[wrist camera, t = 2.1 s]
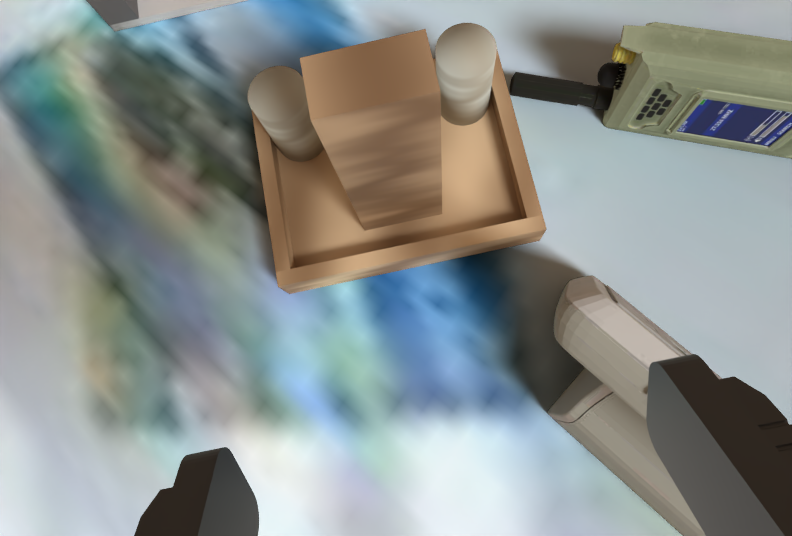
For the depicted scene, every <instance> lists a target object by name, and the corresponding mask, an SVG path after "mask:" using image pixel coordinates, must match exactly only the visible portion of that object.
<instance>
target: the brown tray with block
mask: <svg viewBox="0 0 792 536" xmlns="http://www.w3.org/2000/svg"><path fill="white" fill-rule="evenodd" d="M435 54H436V58H434V59H433V58H432V54H431V50H430V46H429V42H428V38H427V33H426V29H423V30H419V31H415V32H410V33H406V34H402V35H397V36H393V37H389V38H384V39H380V40H376V41H371V42H367V43H363V44H358V45H354V46H350V47H345V48H341V49H337V50H332V51H328V52H323V53H319V54H315V55H310V56H306V57H302V58H300V63H301V68H302V74H303V77H302V76H301V75H300V74H299V73H298V72H297V71H296V70H294V69H292V68H290V67H286V66H274V67H270V68H267V69H265V70H263V71H262V72H260V73H259V74H258V75H257V76H256V77H255V78H254V79H253V80H252V82H251V84H250V86H249V89H248V102H249V105H250V107H251V109H252V116H253V123H254V129H255V136H256V143H257V149H258V156H259V163H260V169H261V176H262V183H263V189H264V196H265V203H266V210H267V216H268V223H269V230H270V236H271V243H272V250H273V256H274V263H275V270H276V276H277V283H278V287H279V288H281V289H283V290H284V291H286V292H287V293H289V294H291V293H296V292H301V291H305V290H310V289H315V288H319V287H324V286H329V285H333V284H338V283H343V282H348V281H352V280H357V279H362V278H366V277H371V276H376V275H380V274H385V273H390V272H395V271H399V270H404V269H409V268H413V267H418V266H423V265H427V264H432V263H437V262H442V261H446V260H451V259H456V258H460V257H465V256H470V255H474V254H479V253H484V252H489V251H493V250H498V249H503V248H507V247H512V246H517V245H521V244H526V243H531V242H536V241H540V239H541V237H542V236H543V234H544V232H545V231H546V226H545V222H544V219H543V215H542V211H541V208H540V204H539V200H538V197H537V193H536V189H535V186H534V182H533V179H532V175H531V171H530V168H529V164H528V160H527V157H526V153H525V149H524V146H523V142H522V139H521V135H520V131H519V128H518V124H517V120H516V117H515V113H514V109H513V106H512V102H511V99H510V95H509V91H508V88H507V84H506V80H505V77H504V73H503V69H502V66H501V62H500V59H499V55H498V51H497V46H496V42H495V39H494V37H493V36H492V34H491V33H490V32H489V31H488V30H487V29H486V28H484V27H482V26H480V25H477V24H473V23H461V24H457V25H454V26H452V27H450V28H448V29H447V30H445V31H444V32H443V33H442V35H441V36H440V37H439V39H438V41H437V44H436V49H435Z"/></svg>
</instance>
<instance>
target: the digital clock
mask: <svg viewBox="0 0 792 536" xmlns="http://www.w3.org/2000/svg"><path fill="white" fill-rule="evenodd" d="M554 335H555V338H556V340H557V342H558V343H559V344H560V345H561V346H562V347H563V348H564V349H565V350H566V351H567V352H568V353H569V354H570V355H571V356H573V357H574V358H575V359H576V360H577V361H578V362H579V363H581V364H582V365H583V366H584V367H585V368H584V369H583V370H582V372H581V373H580V374H579V375H578V376H577V377H576V379H575V380H574V381H573V382H572V383H571V384H570V386H569V387H568V388H567V389H566V390H565V391H564V392H563V394H562V395H561V396H560V397H559V398H558V399H557V401H556V402H555V403H554V404H553V405H552V406H551V408H550V409H549V411H548V415H550V416H551V417H552V418H553V419H554V420H555V421H556V422H557V423H559V424H560V425H561V426H562V427H563V428H564V429H565V430H566V431H567V432H569V433H570V434H571V435H572V436H573V437H574V438H575V439H576V440H577V441H579V442H580V443H581V444H582V445H583V446H584V447H585V448H586V449H587V450H589V451H590V452H591V453H592V454H593V455H594V456H595V457H596V458H597V459H599V460H600V461H601V462H602V463H603V464H604V465H605V466H606V467H607V468H609V469H610V470H611V471H612V472H613V473H614V474H615V475H616V476H617V477H619V478H620V479H621V480H622V481H623V482H624V483H625V484H626V485H628V486H629V487H630V488H631V489H632V490H633V491H634V492H635V493H636V494H638V495H639V496H640V497H641V498H642V499H643V500H644V501H645V502H646V503H648V504H649V505H650V506H651V507H652V508H653V509H654V510H655V511H656V512H658V513H659V514H660V515H661V516H662V517H663V518H664V519H665V520H666V521H668V522H669V523H670V524H671V525H672V526H673V527H674V528H675V529H676V530H678V531H679V532H680V533H681V534H682V535H683V536H706V535H705V533H704V532H703V530H702V528H701V526H700V525H699V523H698V521H697V520H696V518H695V516H694V515H693V513H692V511H691V510H690V508H689V506H688V505H687V503H686V501H685V500H684V498H683V496H682V495H681V493H680V491H679V490H678V488H677V486H676V485H675V483H674V481H673V479H672V478H671V476H670V474H669V473H668V471H667V469H666V468H665V466H664V464H663V463H662V461H661V459H660V458H659V456H658V454H657V452H656V451H655V449H654V446H653V444H652V442H651V439H650V436H649V432H648V428H647V421H646V415H647V396H648V377H649V367H650V364H651V363H652V362H656V361H661V360H666V359H671V358H675V357H680V356H685V355H690V354H691V353H690V352H689V351H688V350H687V349H685V348H684V347H683V346H682V345H680V344H679V343H678V342H677V341H675V340H674V339H673V338H672V337H671V336H669V335H668V334H667V333H666V332H664V331H663V330H662V329H661V328H659V327H658V326H657V325H656V324H654V323H653V322H652V321H651V320H650V319H648V318H647V317H646V316H645V315H643V314H642V313H641V312H640V311H638V310H637V309H636V308H635V307H634V306H632V305H631V304H630V303H629V302H627V301H626V300H625V299H624V298H622V297H621V296H620V295H619V294H618V293H616V292H615V291H614V290H613V289H611V288H610V287H609V286H608V285H607V286H606V285H605V284H603V283H602V282H601V281H600V280H598V279H597V278H596V277H594V276H586V277H581V278H576V279H572V280H570V281H569V282H568V283H567V284H566V286H565V287H564V289H563V292H562V294H561V297H560V299H559V302H558V305H557V308H556V312H555V319H554ZM713 373H714V374H715V375H716V376H717V377H718V379H719V380H720V379H722V378H721V377H720V376H719V375H717V374H716V373H715V372H714V371H713Z"/></svg>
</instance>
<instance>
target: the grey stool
mask: <svg viewBox="0 0 792 536" xmlns="http://www.w3.org/2000/svg"><path fill="white" fill-rule="evenodd" d="M87 1H88V3H89V4H90V5H91V6H92V7H93V8H94V9H95V10H96V11H97V12H98V14H99V15H100V16H101V17H102V18H103V19H104V20H105V21H106V22H107V23H108V25H109V26H110V27H111V28H112V29H113V30H114V31H119V30H123V29H127V28H132V27H136V26H140V25H144V24H149V23H153V22H157V21H161V20H166V19H170V18H174V17H179V16H183V15H187V14H191V13H196V12H200V11H204V10H208V9H213V8H217V7H221V6H225V5H230V4H234V3H238V2H242V1H247V0H87Z"/></svg>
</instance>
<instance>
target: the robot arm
mask: <svg viewBox="0 0 792 536" xmlns="http://www.w3.org/2000/svg"><path fill="white" fill-rule="evenodd" d="M646 421H647V428H648V432H649V436H650V439H651V442H652V444H653V446H654V449H655V451H656V452H657V454H658V456H659V458H660V459H661V461H662V463H663V464H664V466H665V468H666V469H667V471H668V473H669V474H670V476H671V478H672V479H673V481H674V483H675V485H676V486H677V488H678V490H679V491H680V493H681V495H682V496H683V498H684V500H685V501H686V503H687V505H688V506H689V508H690V510H691V511H692V513H693V515H694V516H695V518H696V520H697V521H698V523H699V525H700V526H701V528H702V530H703V532H704V533H705V535H706V536H792V425H789V424H788V422H787V419H786V418H785V417H784V416H783V414H782V413H781V412H780V411H779V410H778V409H777V408H776V407H775V406H774V404H773V403H772V402H771V401H770V400H769V399H768V398H767V397H766V396H765V395H764V394H762V393H761V392H759V391H757V390H756V389H754V388H752V387H751V386H749V385H747V384H746V383H744V382H743V381H741V380H739V379H738V378H736V377H730V378H725V379H720V380H719V379H718V377H717V376H716V375H715V374H714V373H713V371H712V370H711V369H710V368H709V367H708V365H707V364H706V363H705V362H704V361H703V360H702V359H701V358H700V357H699V356H698V355H696V354H690V355H685V356H680V357H675V358H671V359H666V360H661V361H656V362H652V363H651V364H650V367H649V377H648V396H647V415H646ZM258 529H259V512H258V505H257V501H256V498H255V495H254V493H253V491H252V489H251V488H250V486H249V484H248V482H247V480H246V478H245V476H244V475H243V473H242V471H241V469H240V467H239V465H238V463H237V462H236V460H235V458H234V456H233V454H232V452H231V451H230V450H229V449H228V448H226V447H224V448H219V449H214V450H209V451H204V452H199V453H194V454H189V455H186V456H185V457H184V458H183V460H182V461H181V464H180V467H179V470H178V473H177V476H176V479H175V482H174V486H173V487H172V488H167V489H162V490H160V491H159V493H158V494H157V495H156V497H155V498H154V500H153V501H152V502H151V504H150V505H149V507H148V508H147V509H146V511H145V512H144V514H143V515H142V516H141V518H140V521H139V524H138V527H137V529H136V532H135V535H134V536H258Z"/></svg>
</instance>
